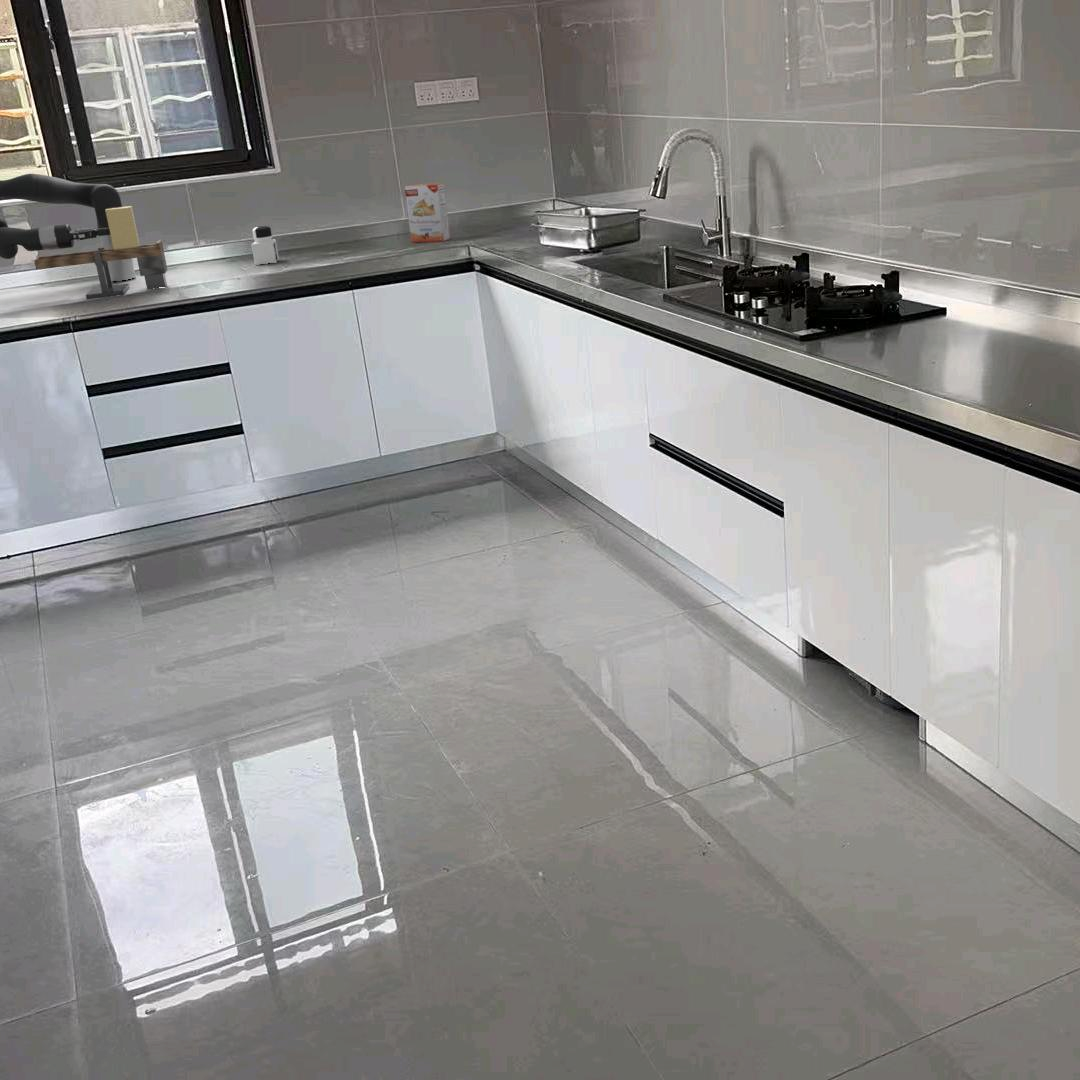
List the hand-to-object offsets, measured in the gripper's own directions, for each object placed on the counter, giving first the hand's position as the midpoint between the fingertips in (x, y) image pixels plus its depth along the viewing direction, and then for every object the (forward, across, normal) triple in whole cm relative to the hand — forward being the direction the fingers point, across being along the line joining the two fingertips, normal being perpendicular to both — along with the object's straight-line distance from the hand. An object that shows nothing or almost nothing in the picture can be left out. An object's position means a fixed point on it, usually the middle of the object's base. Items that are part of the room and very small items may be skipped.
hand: (110, 231), depth 400 cm
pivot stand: (+2, 0, -20) cm, 20 cm away
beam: (-5, 0, -15) cm, 16 cm away
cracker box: (+109, -37, -20) cm, 117 cm away
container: (+48, -31, -20) cm, 60 cm away
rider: (+4, -1, -7) cm, 8 cm away
